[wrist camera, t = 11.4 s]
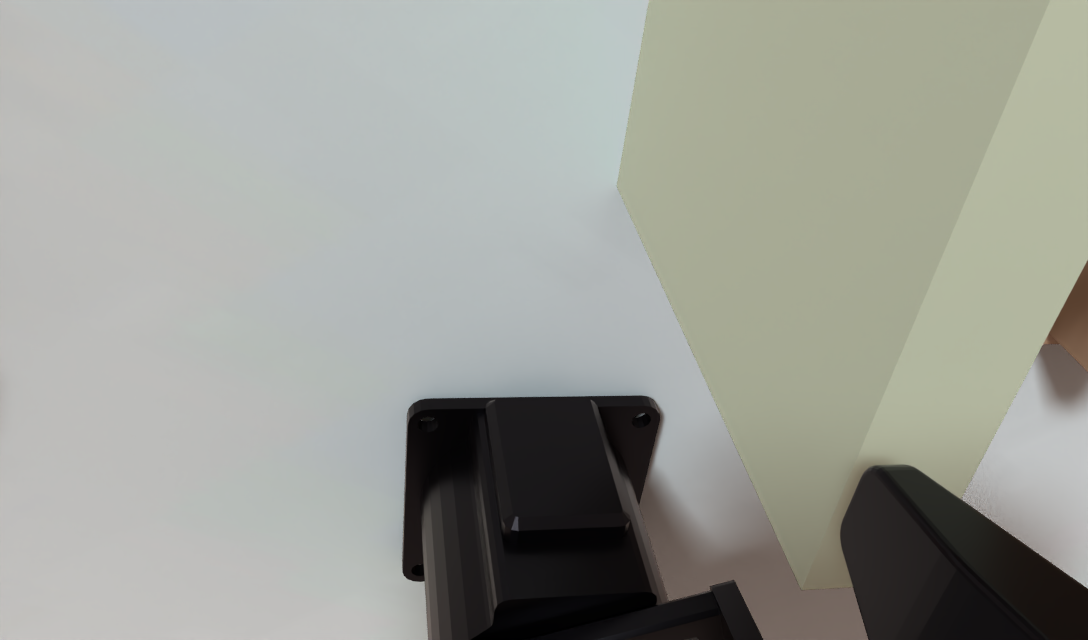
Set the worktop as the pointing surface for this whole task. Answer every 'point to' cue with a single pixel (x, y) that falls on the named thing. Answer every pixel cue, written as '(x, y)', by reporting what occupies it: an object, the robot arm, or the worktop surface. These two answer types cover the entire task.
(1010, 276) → the green sheet
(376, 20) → the worktop surface
